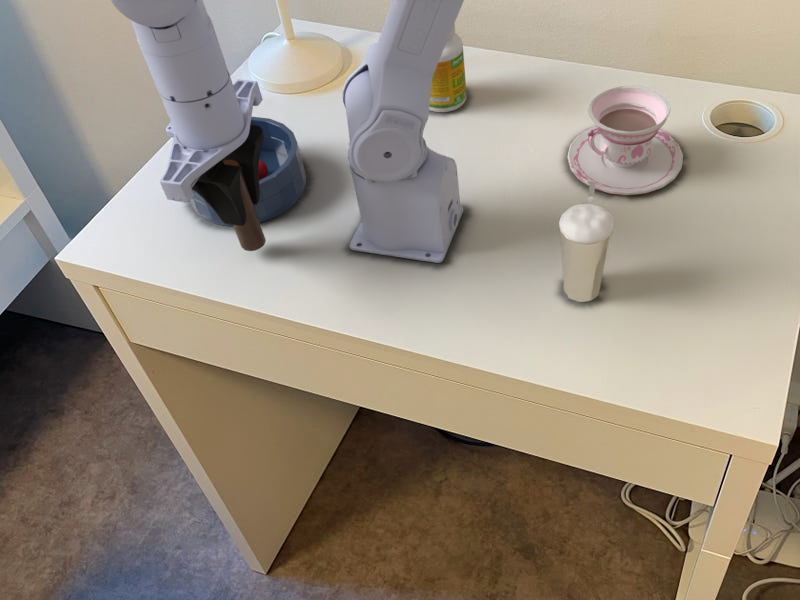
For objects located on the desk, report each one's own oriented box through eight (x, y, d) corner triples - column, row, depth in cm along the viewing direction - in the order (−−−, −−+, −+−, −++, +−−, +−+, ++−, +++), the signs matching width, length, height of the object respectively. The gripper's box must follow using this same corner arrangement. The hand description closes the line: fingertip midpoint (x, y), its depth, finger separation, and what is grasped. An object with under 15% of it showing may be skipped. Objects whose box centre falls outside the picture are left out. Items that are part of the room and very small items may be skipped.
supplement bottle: (461, 115, 93) (454, 35, 85) (415, 112, 93) (404, 32, 86) (471, 88, 96) (465, 8, 88) (426, 85, 97) (417, 6, 89)
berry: (273, 173, 87) (268, 157, 85) (265, 185, 86) (260, 169, 84) (255, 170, 87) (250, 155, 86) (248, 182, 86) (242, 167, 85)
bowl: (323, 158, 89) (314, 123, 85) (278, 233, 82) (266, 199, 78) (222, 145, 91) (209, 111, 88) (169, 217, 84) (154, 183, 81)
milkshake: (611, 269, 76) (619, 184, 68) (603, 311, 73) (611, 227, 65) (562, 263, 77) (566, 178, 69) (553, 304, 74) (555, 220, 66)
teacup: (632, 112, 91) (638, 62, 86) (706, 167, 85) (717, 116, 80) (544, 152, 88) (545, 102, 83) (615, 213, 81) (620, 162, 76)
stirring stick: (269, 235, 80) (243, 161, 73) (259, 252, 78) (231, 178, 71) (247, 232, 80) (219, 157, 73) (236, 249, 79) (207, 174, 72)
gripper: (191, 30, 71) (236, 158, 81) (102, 130, 62) (166, 259, 73) (265, 37, 69) (301, 166, 80) (185, 140, 61) (238, 270, 71)
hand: (242, 211), depth 76 cm, fingers closed on stirring stick, 2 cm apart
